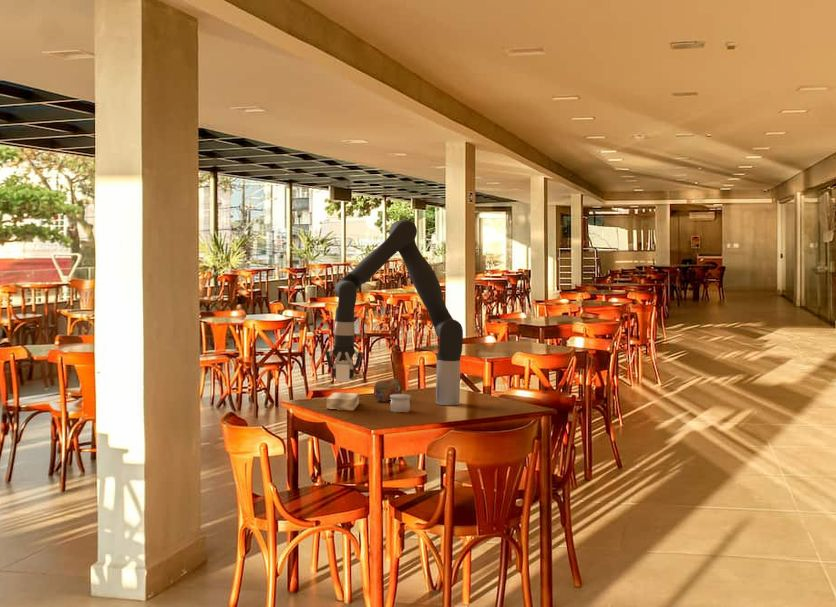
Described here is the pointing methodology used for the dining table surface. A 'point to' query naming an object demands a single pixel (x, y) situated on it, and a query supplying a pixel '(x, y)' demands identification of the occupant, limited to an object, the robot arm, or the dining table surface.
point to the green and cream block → (343, 372)
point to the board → (343, 401)
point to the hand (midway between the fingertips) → (343, 378)
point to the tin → (387, 389)
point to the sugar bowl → (400, 402)
